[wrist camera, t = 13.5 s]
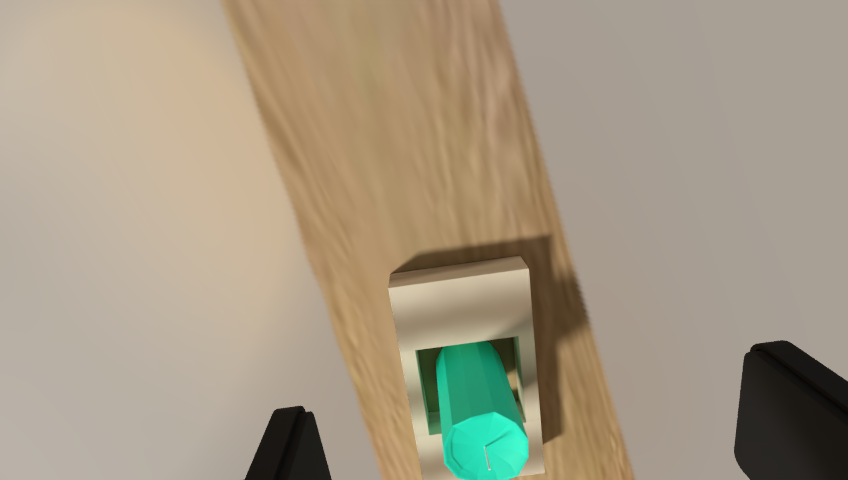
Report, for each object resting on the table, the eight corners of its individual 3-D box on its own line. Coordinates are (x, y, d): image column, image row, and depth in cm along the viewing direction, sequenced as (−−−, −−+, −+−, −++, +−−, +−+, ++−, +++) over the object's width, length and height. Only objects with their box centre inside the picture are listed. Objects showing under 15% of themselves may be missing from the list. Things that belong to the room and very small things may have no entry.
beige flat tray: (390, 273, 38) (388, 288, 35) (519, 255, 38) (528, 268, 35) (423, 463, 44) (424, 488, 41) (536, 448, 44) (544, 473, 41)
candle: (514, 361, 41) (554, 463, 29) (470, 405, 42) (492, 519, 31) (465, 323, 39) (486, 414, 28) (421, 369, 41) (424, 475, 29)
